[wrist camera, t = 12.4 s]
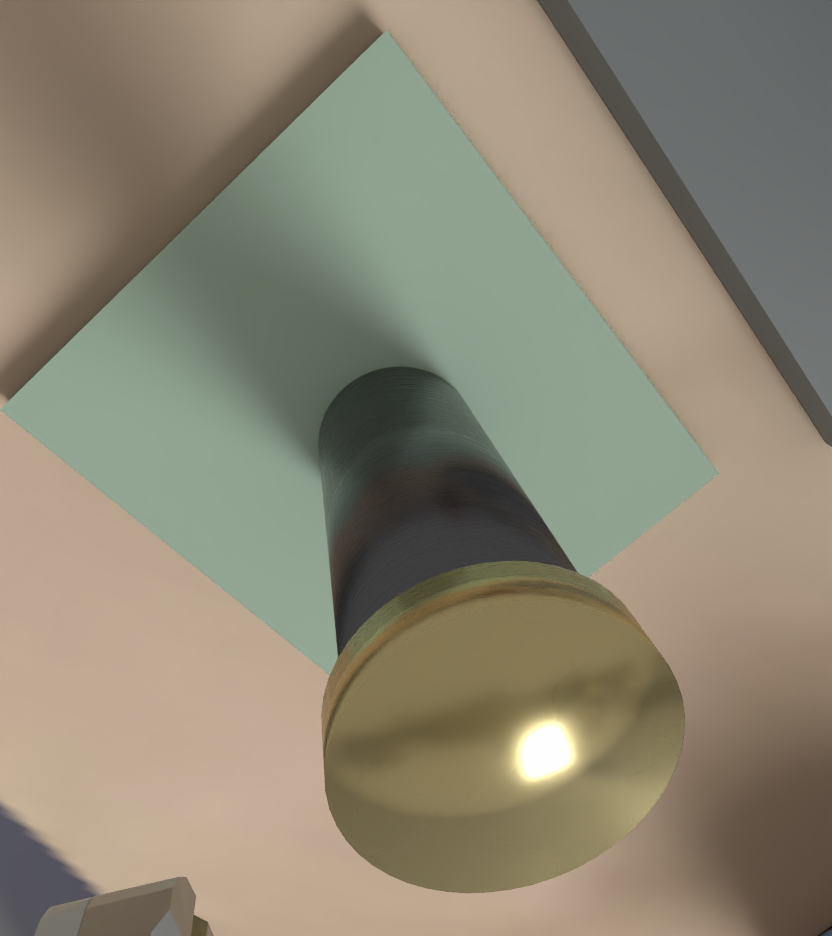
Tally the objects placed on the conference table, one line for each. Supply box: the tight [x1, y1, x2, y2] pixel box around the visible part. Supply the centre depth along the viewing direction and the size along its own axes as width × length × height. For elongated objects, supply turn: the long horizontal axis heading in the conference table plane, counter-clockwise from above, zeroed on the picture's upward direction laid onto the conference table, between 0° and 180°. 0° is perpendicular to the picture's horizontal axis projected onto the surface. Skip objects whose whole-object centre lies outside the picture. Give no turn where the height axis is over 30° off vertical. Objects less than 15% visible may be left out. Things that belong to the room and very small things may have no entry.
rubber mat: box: [0, 30, 719, 675], centre depth 20 cm, size 14×12×1 cm
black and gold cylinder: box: [318, 366, 685, 893], centre depth 15 cm, size 5×5×11 cm
